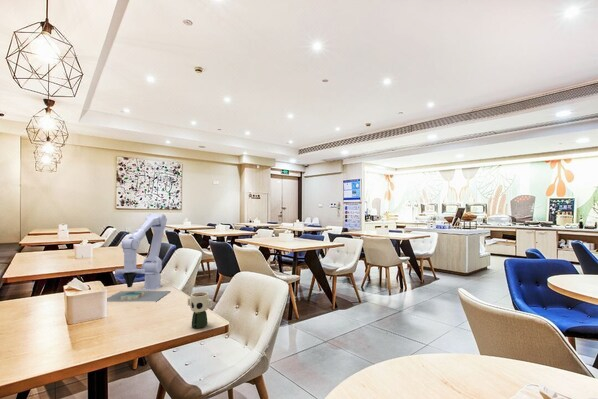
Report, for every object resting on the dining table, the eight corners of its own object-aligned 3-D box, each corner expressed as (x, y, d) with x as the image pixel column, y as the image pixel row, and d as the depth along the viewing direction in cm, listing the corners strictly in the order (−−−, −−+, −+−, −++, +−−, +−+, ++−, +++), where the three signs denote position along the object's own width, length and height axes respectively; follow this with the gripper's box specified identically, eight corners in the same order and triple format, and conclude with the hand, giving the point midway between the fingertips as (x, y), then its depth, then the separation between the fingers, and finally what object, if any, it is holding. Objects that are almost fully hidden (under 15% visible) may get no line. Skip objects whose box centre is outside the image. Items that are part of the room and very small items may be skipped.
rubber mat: (120, 292, 168) (120, 291, 168) (170, 291, 168) (170, 291, 168) (100, 302, 150) (100, 301, 150) (156, 302, 150) (156, 301, 150)
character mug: (182, 328, 119) (182, 295, 119) (192, 321, 126) (192, 290, 126) (207, 330, 116) (207, 297, 117) (215, 323, 123) (216, 292, 124)
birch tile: (130, 291, 161) (144, 291, 162) (130, 294, 161) (144, 294, 161) (120, 296, 152) (135, 296, 153) (120, 299, 152) (135, 299, 152)
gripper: (111, 262, 153) (111, 289, 153) (140, 262, 153) (139, 289, 153) (119, 260, 160) (119, 285, 160) (146, 260, 160) (146, 285, 160)
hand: (129, 286), depth 157 cm, fingers closed
